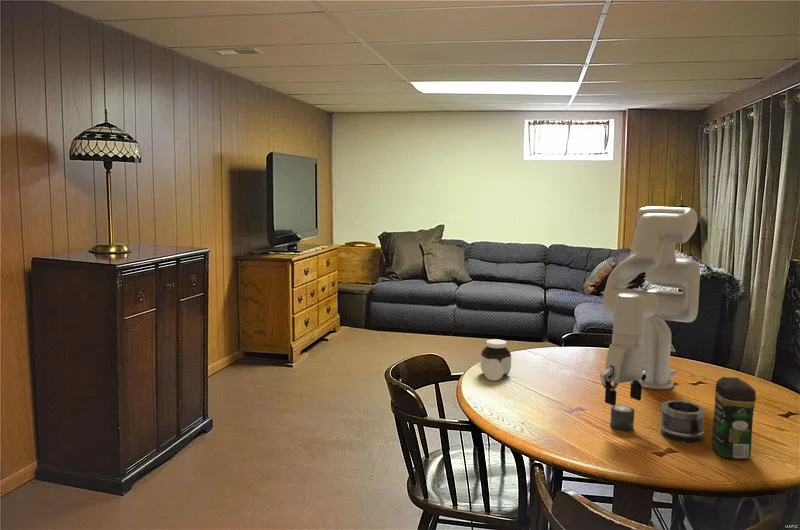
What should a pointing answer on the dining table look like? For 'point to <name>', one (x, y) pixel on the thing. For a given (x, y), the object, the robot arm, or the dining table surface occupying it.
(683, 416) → the lens barrel
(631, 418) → the dark grey short cylinder
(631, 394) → the robot arm
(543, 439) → the dining table surface
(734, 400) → the coffee jar
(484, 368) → the spread jar
